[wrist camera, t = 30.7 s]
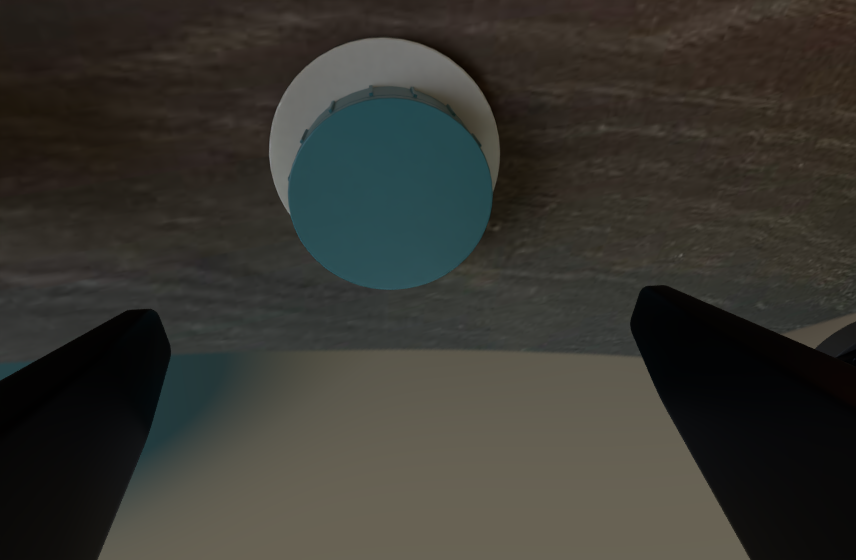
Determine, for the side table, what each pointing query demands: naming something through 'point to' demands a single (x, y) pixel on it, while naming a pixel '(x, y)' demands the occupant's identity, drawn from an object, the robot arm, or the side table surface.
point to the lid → (389, 188)
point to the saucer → (378, 67)
